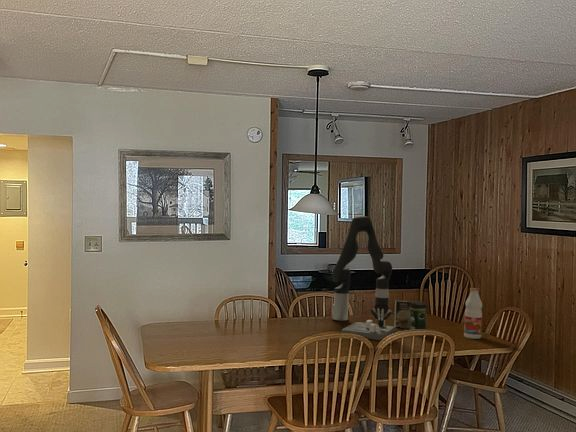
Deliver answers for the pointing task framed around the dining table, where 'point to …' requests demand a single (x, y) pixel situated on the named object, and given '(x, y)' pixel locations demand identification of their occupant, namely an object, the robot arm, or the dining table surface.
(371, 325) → the breaker near
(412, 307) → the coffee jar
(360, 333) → the grey flat square slab
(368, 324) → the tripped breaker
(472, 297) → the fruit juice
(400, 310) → the coffee box
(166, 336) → the dining table surface
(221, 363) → the dining table surface
